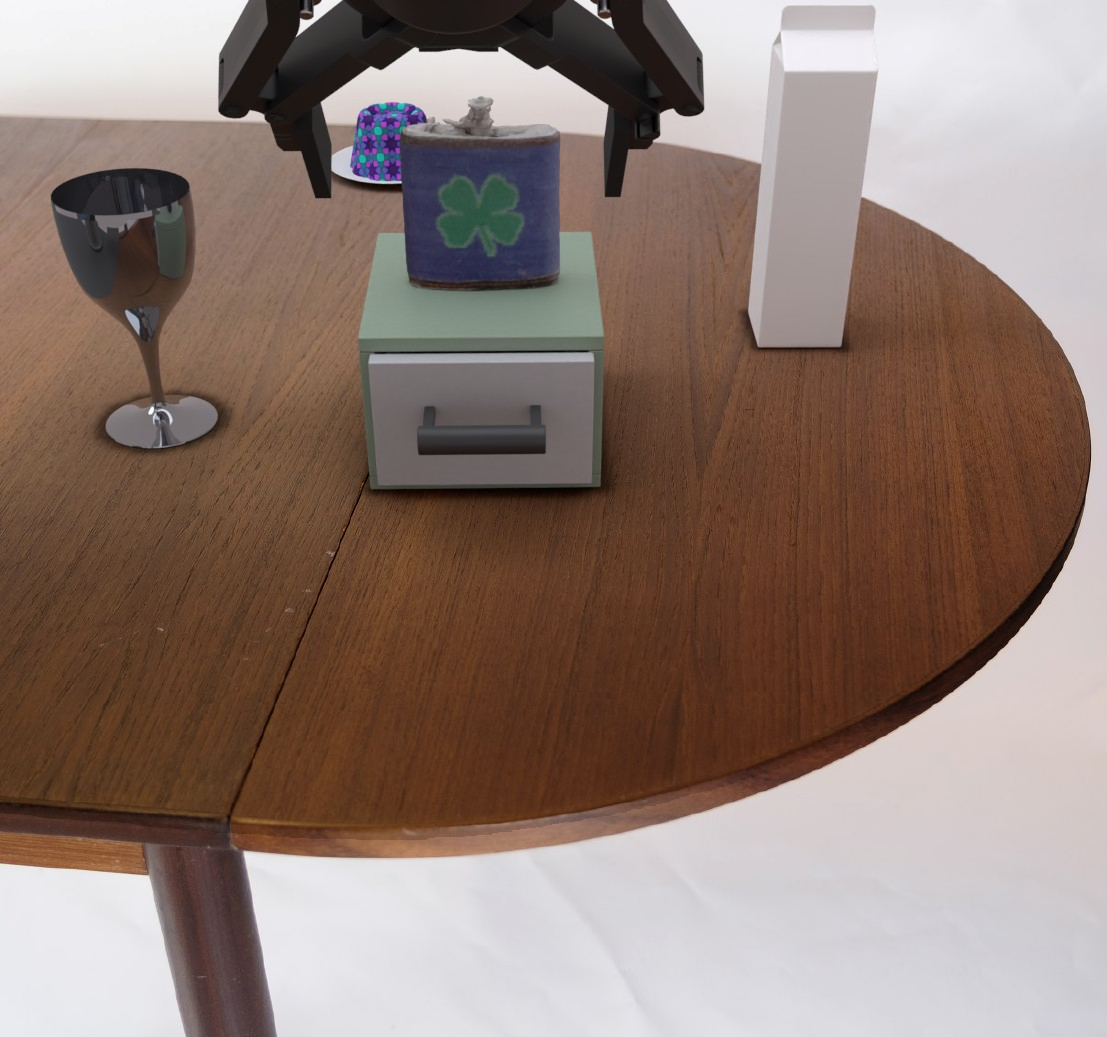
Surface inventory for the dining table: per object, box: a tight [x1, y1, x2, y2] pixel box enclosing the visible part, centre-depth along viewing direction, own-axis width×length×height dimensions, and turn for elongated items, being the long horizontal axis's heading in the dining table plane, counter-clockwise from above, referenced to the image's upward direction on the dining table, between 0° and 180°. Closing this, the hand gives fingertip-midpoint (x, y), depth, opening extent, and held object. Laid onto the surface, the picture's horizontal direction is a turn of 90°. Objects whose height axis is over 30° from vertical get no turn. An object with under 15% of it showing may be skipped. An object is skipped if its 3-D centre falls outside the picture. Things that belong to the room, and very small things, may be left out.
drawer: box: [368, 350, 594, 486], centre depth 87 cm, size 19×13×8 cm, turn 1°
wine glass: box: [50, 167, 219, 449], centre depth 89 cm, size 8×8×15 cm
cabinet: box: [357, 231, 605, 490], centre depth 90 cm, size 16×14×10 cm
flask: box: [399, 95, 561, 290], centre depth 83 cm, size 9×3×11 cm, turn 91°
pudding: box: [332, 101, 428, 185], centre depth 130 cm, size 12×12×5 cm
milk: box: [747, 4, 879, 348], centre depth 98 cm, size 6×6×22 cm
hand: (468, 170), depth 68 cm, fingers open, 13 cm apart
